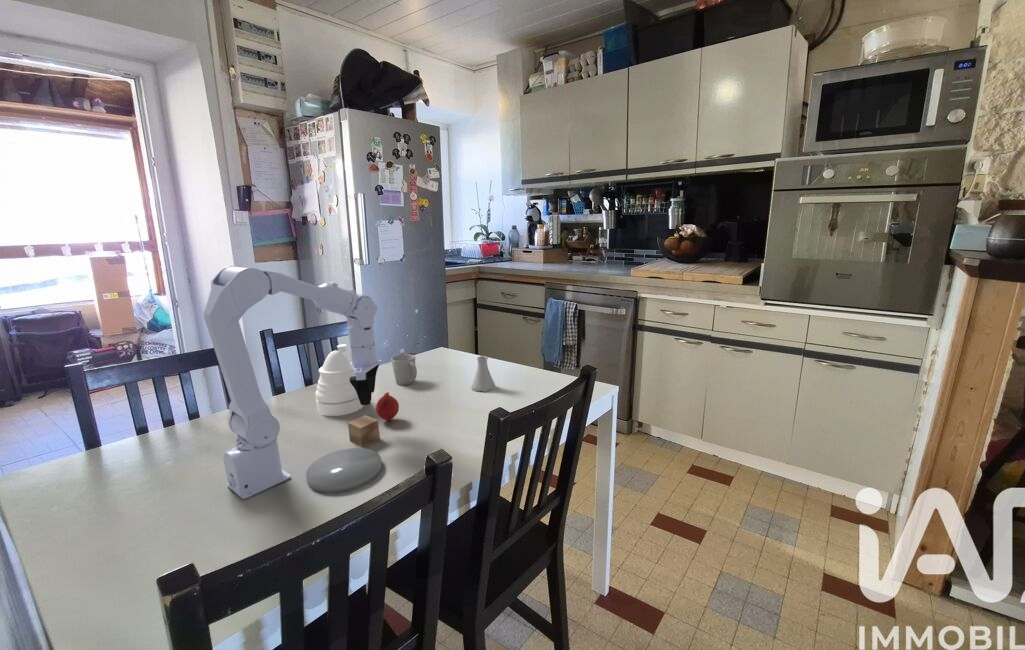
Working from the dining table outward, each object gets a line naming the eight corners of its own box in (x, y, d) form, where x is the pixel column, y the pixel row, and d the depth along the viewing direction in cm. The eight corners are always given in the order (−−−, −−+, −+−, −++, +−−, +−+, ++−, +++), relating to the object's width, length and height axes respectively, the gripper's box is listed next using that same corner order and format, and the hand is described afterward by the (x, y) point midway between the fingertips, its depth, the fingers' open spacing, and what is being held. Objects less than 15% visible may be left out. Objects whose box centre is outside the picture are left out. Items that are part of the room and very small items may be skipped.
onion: (393, 426, 118) (391, 397, 116) (373, 425, 119) (370, 396, 118) (403, 416, 124) (401, 389, 122) (383, 415, 125) (381, 387, 123)
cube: (362, 447, 108) (359, 428, 107) (349, 441, 111) (347, 422, 110) (379, 439, 112) (378, 420, 111) (367, 433, 115) (365, 415, 114)
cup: (408, 376, 154) (406, 352, 152) (426, 383, 148) (424, 358, 146) (388, 383, 149) (386, 358, 147) (406, 390, 142) (404, 364, 140)
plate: (332, 502, 88) (331, 495, 87) (293, 476, 97) (292, 469, 96) (396, 467, 99) (395, 461, 99) (355, 447, 108) (355, 441, 108)
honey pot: (364, 395, 139) (358, 338, 135) (365, 412, 128) (358, 349, 123) (319, 401, 136) (311, 342, 131) (315, 419, 124) (307, 355, 119)
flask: (481, 382, 148) (480, 352, 145) (499, 386, 144) (498, 356, 141) (466, 389, 142) (465, 358, 140) (485, 394, 138) (483, 362, 136)
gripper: (376, 352, 103) (381, 408, 106) (382, 335, 116) (387, 386, 120) (343, 354, 101) (349, 411, 105) (353, 337, 115) (359, 388, 118)
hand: (367, 398), depth 112 cm, fingers open, 7 cm apart
